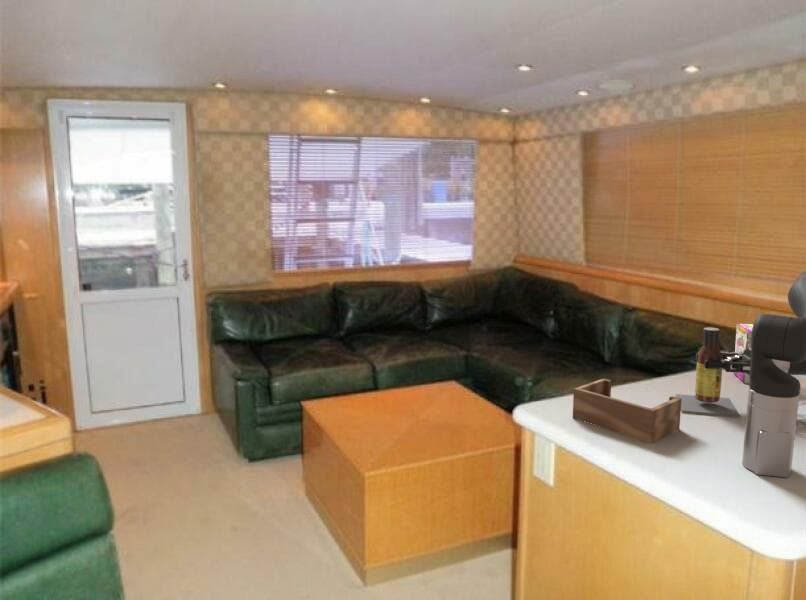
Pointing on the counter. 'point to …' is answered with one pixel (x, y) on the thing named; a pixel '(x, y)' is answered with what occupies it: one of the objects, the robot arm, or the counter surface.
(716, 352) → the sauce bottle
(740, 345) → the candy bar box
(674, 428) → the walnut crate
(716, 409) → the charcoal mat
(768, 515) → the counter surface
